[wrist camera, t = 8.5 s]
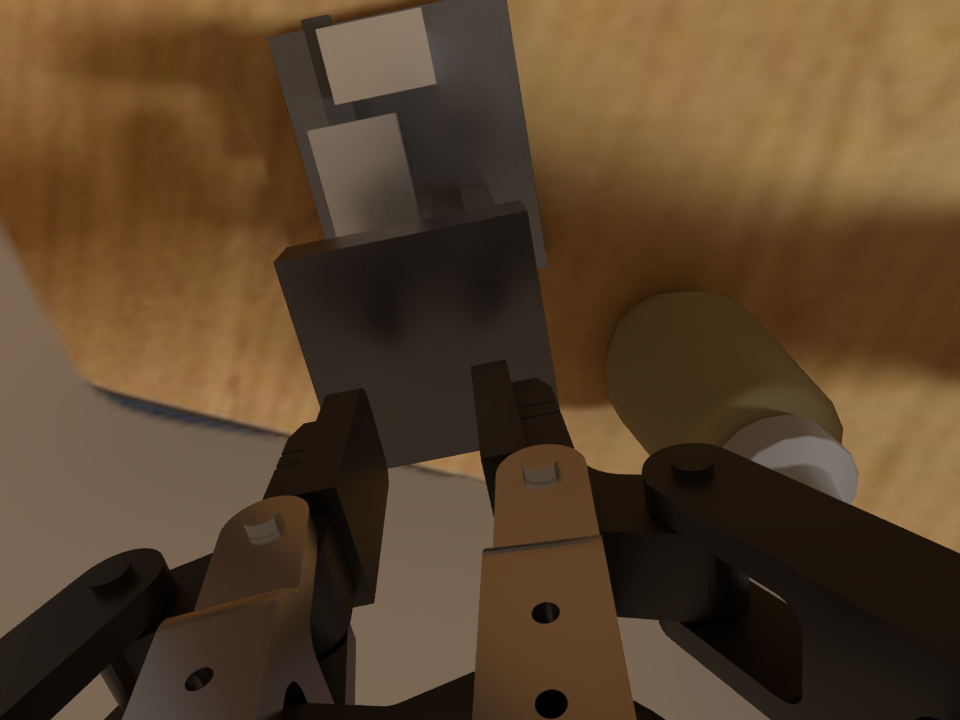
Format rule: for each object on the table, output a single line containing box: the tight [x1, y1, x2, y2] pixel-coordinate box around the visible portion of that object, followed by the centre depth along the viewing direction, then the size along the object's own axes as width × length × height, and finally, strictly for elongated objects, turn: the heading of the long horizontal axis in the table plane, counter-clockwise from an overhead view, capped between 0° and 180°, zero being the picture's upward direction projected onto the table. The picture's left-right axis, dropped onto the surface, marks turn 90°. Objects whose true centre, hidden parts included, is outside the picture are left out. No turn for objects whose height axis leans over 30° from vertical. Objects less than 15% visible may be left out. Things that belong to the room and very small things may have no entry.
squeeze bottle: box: [605, 291, 858, 505], centre depth 28 cm, size 8×8×18 cm
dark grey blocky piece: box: [273, 112, 559, 469], centre depth 21 cm, size 8×6×10 cm
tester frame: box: [267, 0, 548, 269], centre depth 26 cm, size 12×10×12 cm
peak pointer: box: [301, 15, 356, 126], centre depth 25 cm, size 6×1×1 cm, turn 11°
